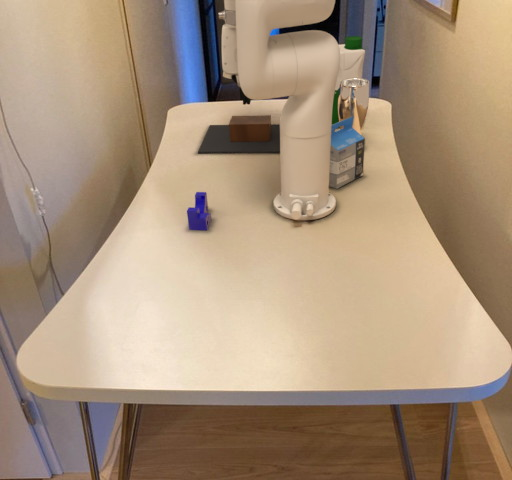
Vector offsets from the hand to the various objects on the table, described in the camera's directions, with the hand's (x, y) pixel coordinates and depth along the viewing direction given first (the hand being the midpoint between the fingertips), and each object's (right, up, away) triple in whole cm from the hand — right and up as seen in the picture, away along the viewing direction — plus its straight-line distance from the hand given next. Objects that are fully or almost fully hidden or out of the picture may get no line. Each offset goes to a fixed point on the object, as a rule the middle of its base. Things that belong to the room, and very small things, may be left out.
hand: (247, 102), depth 134 cm
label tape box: (+21, -23, -14) cm, 35 cm away
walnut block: (-4, -5, +5) cm, 8 cm away
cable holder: (-8, -34, -25) cm, 43 cm away
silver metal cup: (+25, -12, -1) cm, 28 cm away
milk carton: (+25, 0, +12) cm, 27 cm away
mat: (0, -7, +6) cm, 9 cm away
